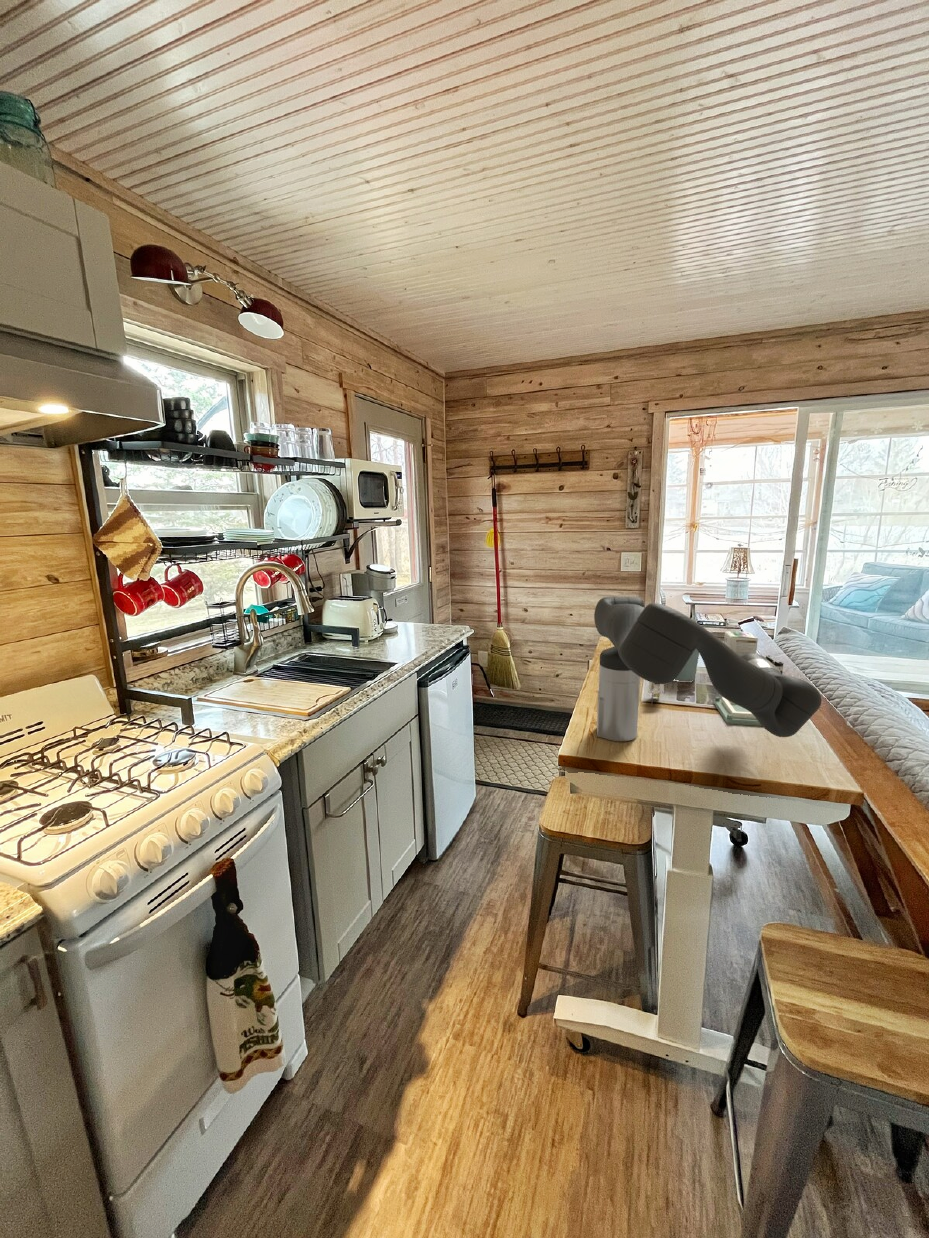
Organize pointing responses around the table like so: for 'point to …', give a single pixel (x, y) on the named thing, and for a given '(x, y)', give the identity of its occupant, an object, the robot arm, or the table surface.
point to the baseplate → (735, 713)
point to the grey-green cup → (689, 668)
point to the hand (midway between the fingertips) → (735, 654)
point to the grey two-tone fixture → (655, 690)
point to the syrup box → (741, 642)
